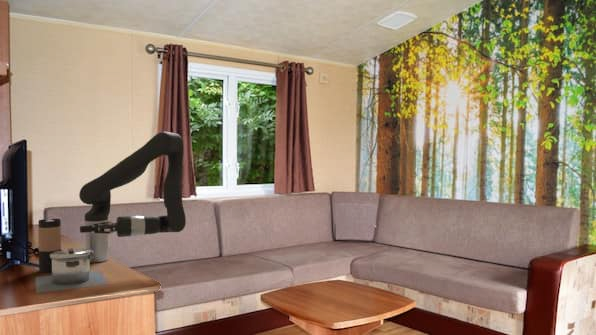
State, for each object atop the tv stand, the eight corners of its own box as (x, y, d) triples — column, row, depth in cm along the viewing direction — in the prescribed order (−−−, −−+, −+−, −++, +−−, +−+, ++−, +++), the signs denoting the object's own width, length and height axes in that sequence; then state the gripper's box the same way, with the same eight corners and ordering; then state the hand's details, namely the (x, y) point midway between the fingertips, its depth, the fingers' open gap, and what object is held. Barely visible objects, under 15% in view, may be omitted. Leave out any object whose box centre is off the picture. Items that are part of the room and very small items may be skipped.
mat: (35, 278, 170) (35, 277, 170) (100, 271, 181) (100, 270, 181) (35, 294, 151) (35, 292, 151) (108, 285, 162) (108, 284, 162)
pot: (51, 277, 170) (50, 252, 170) (89, 273, 177) (89, 249, 177) (53, 288, 156) (52, 261, 156) (94, 283, 163) (94, 257, 162)
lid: (49, 255, 168) (49, 248, 168) (91, 250, 175) (91, 244, 175) (50, 262, 157) (50, 255, 157) (96, 257, 164) (96, 250, 164)
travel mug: (51, 275, 175) (51, 221, 175) (33, 273, 177) (33, 221, 176) (65, 270, 183) (65, 219, 182) (48, 269, 184) (48, 218, 184)
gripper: (127, 214, 181) (78, 216, 173) (134, 218, 170) (81, 221, 161) (127, 233, 182) (78, 236, 173) (134, 238, 170) (81, 243, 162)
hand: (80, 229), depth 167 cm, fingers closed
